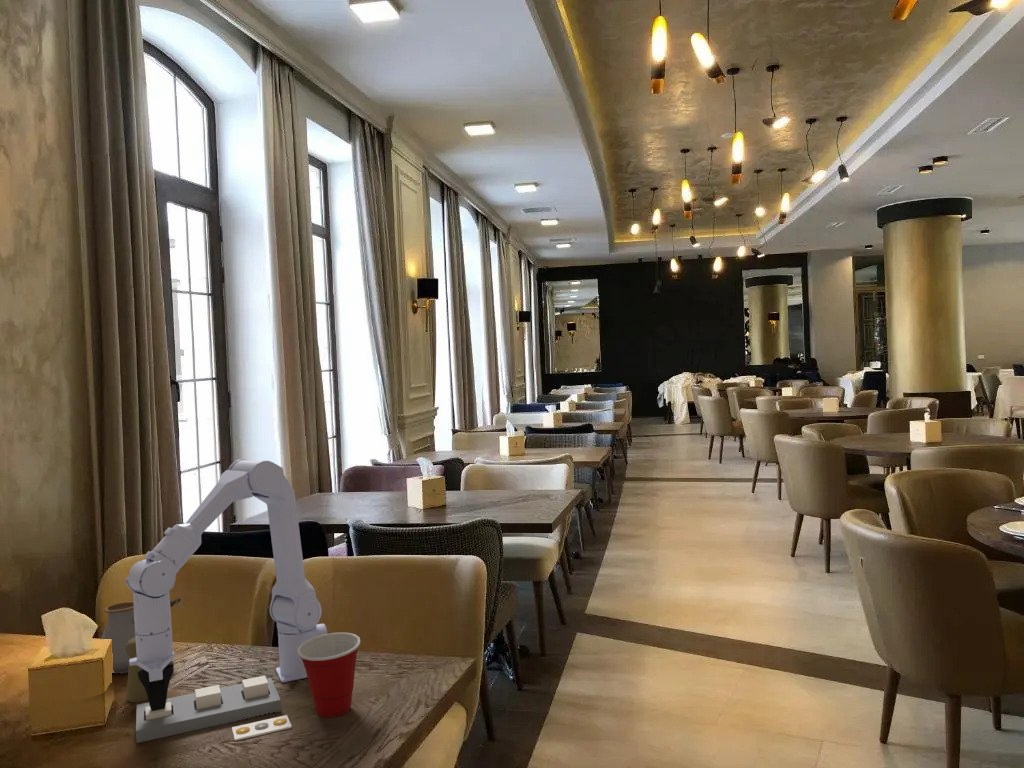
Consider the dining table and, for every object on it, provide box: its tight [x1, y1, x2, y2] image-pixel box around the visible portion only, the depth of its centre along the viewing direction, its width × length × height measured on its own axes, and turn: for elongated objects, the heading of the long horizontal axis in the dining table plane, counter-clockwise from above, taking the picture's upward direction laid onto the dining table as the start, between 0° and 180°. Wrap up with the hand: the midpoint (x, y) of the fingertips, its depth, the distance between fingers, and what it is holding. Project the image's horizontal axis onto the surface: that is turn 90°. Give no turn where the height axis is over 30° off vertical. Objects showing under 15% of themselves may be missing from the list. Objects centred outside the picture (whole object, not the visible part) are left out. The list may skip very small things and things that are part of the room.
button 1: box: [146, 702, 172, 720], centre depth 136 cm, size 4×4×2 cm
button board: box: [135, 677, 282, 744], centre depth 140 cm, size 23×12×2 cm, turn 115°
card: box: [231, 714, 293, 742], centre depth 132 cm, size 9×5×1 cm, turn 115°
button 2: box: [241, 675, 269, 699], centre depth 143 cm, size 4×4×2 cm
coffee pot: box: [100, 598, 185, 675], centre depth 164 cm, size 21×12×15 cm, turn 71°
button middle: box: [194, 684, 221, 709], centre depth 140 cm, size 4×4×2 cm
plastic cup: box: [297, 632, 361, 718], centre depth 138 cm, size 11×11×12 cm
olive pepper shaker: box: [125, 637, 148, 703], centre depth 150 cm, size 6×6×11 cm
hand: (158, 709), depth 136 cm, fingers closed, pressing on button 1
